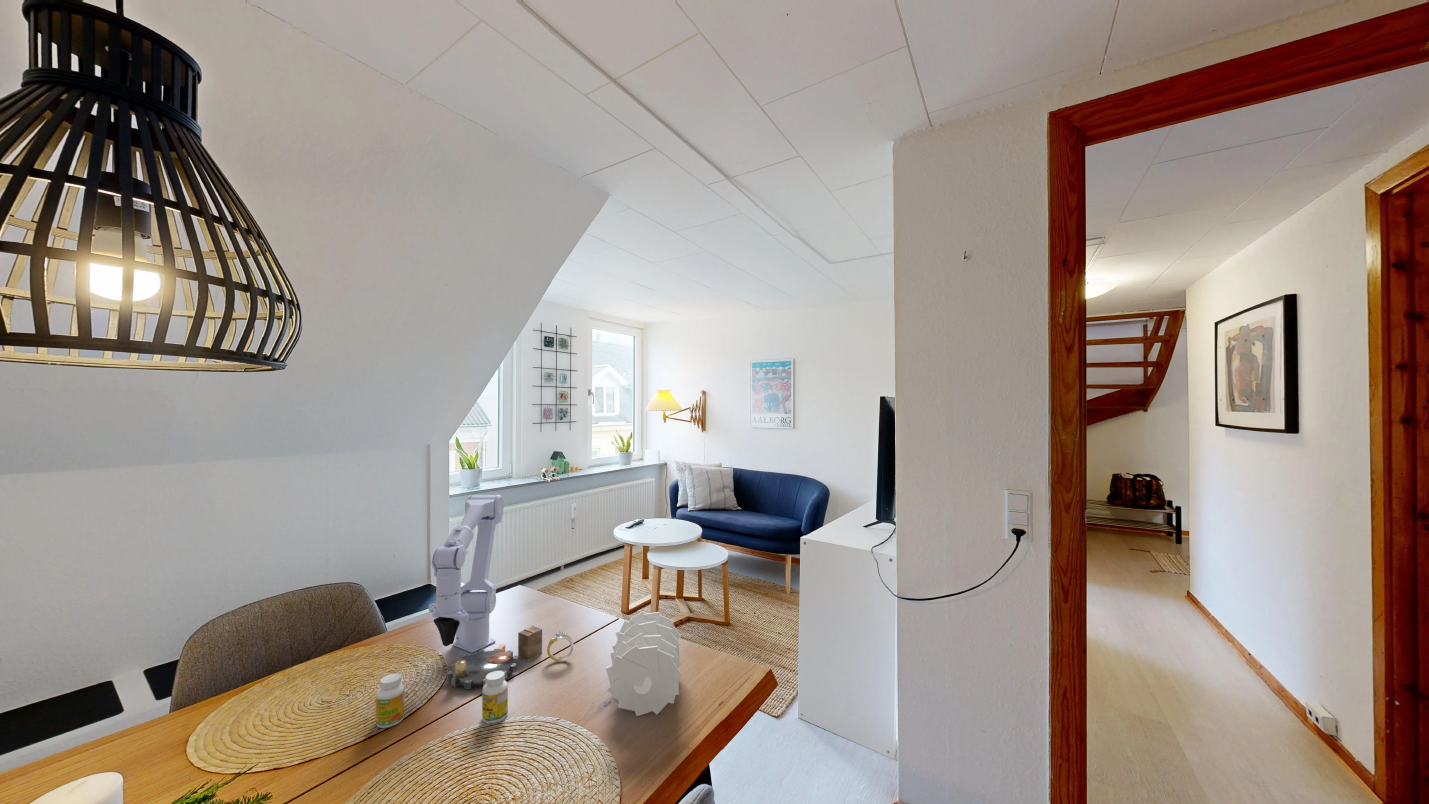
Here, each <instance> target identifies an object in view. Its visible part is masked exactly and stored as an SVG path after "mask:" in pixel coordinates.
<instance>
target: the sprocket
mask: <svg viewBox="0 0 1429 804" xmlns="http://www.w3.org/2000/svg"><path fill="white" fill-rule="evenodd" d="M518 665H519V657H518V654H517V655H514V652H513V651H512V650H507V651H506V650H505V651H501V649H497V648H494V649H493V650H484V649H482V650H477V653H474V654H471V655H467V654H465V655H463V656H462V657H461V660H457V661H456V662H453V663H452V664H450V666H449V671H447V672H446V673H447V675H446V676H447V677H446V679H447V681H451V682H450V685H451V686H453V687H458V686H461V687H463V688H464V689H467V690H469V689H471V690H472V688H473V687H478V686H483V687H484V685H485V684H486V682H485V679H486V675H487V674H489V673H491V672H494V671H503V672H504V674H505V679H504V680H506V679H507V678H508V675H509V674H510V673H515V672H516V670H517V669H518ZM483 687H482V688H483Z"/></svg>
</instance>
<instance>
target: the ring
mask: <svg viewBox="0 0 1429 804" xmlns="http://www.w3.org/2000/svg"><path fill="white" fill-rule="evenodd" d="M554 634H555V635H552V637H551V638H550V640H548V641H549V642H548V643H547V647H546V652H547V656H548V657H549V658H550V659H551V660H553V661H554V662H559V663H561V662H563V661H566V660H568V659H569V658H570V657H571V656H572V653H573V650H574V646H575V645H574V641H573V639H572V638H571V636H569V635H568V633H567V632H565V631H562V632H561V631H560V630H559V631H558V633H554ZM558 640H567V641H568V643H569V644H570V650H569V652H568V653H567V655H565V656H559V657H556V656H554V655H553V654H552V652H551V646H552V645H553V644H554V643H556V642H558Z"/></svg>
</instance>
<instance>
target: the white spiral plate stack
mask: <svg viewBox="0 0 1429 804" xmlns="http://www.w3.org/2000/svg"><path fill="white" fill-rule="evenodd" d="M674 623H675V620H673V619H671V618H668V617H666V616H664V615H662V614H660V611H655V612H648V613H644V612H642V611H639V612H638V613H637V614H636V615H634V616H633V617H631V619H629V620H624V621H623V624H622V625H621V627H620V630H618V631H616V632H615V636H616V639H617V640H616V642H615V644H613V645H612V650H613V651H610V657H611V664H612V665H609V666H607V667H605V670H606V674H607V677H608V682H609V686H608V687H607V689H606V691H608V692H609V694H611V695H612V696H613V698H615V699H616V700H617V701H618V705H617V708H619V709H623V710H628V711H632V712H634V713H635V716H636V717H639V716H642V715H645V714H648V713H651V712H653V713H654V714H656V715H658V714H659V713H660V712H661V711H662V710H663V709H664V708H665V707H666V705H668V704H669V703H670V704H674V703H675V700H676V696H679V695H680V688H679V678H680V677H681V676H682V675H683V673H682V672H681V671H680V669H679V667H681V666H682V665H683V663H682V661H681V658H680V646H681V642H680V641H679V639H680V638H681V637H682V635H681V634H680V632H679V631H678V629H677V628H676V626H675V625H674Z"/></svg>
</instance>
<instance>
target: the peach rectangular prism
mask: <svg viewBox="0 0 1429 804" xmlns="http://www.w3.org/2000/svg"><path fill="white" fill-rule="evenodd" d="M496 649H501V651H505V652H506V644H499V646H498V647H497V648H496Z"/></svg>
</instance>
